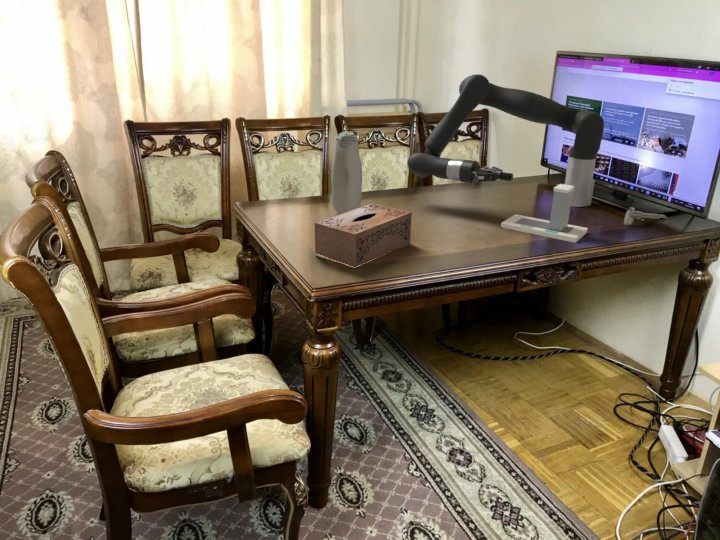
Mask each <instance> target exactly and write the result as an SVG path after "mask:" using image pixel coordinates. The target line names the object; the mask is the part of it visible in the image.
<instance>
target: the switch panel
mask: <svg viewBox="0 0 720 540" xmlns="http://www.w3.org/2000/svg"><path fill="white" fill-rule="evenodd" d="M549 223H550V220H548V219H541V218H538V217H531V216H527V215H521V214H516V213H515V214H513V215H512V216H510V217H508V218H507V219H505V220H503V221H502V222H501V223H500V228H501V227H502V229H506V230H512V231H516V232H521V233H526V234H530V235H536V236H541V237H545V238H550V239H556V240H560V241H566V242H568V243H569V242H571V243H574V244H576V243H577V242H578V241H579V240H581V239H582V238H583V237H584V236H585V235H586V234H587V233H588V229H589V227H584V226H579V225H574V224H569V223H568V226H567V227H566V228H565V229H563V230H562V231H559V230H554V229H549Z"/></svg>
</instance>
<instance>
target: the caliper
mask: <svg viewBox="0 0 720 540" xmlns="http://www.w3.org/2000/svg"><path fill="white" fill-rule="evenodd" d="M635 209H636V208H635V207H631V206H630V207H629V208H628V210H626V213H625V215H624V221H623V225H624V226H631V225H632V224H633V222H634V220H639V221H641V219H642V218H643V219H654V220H655V219H656V220H661V219H660V218H665V219H668V217H667V216H666V215H665V214H658V213H649V212H643V211H639V210H635Z"/></svg>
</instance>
